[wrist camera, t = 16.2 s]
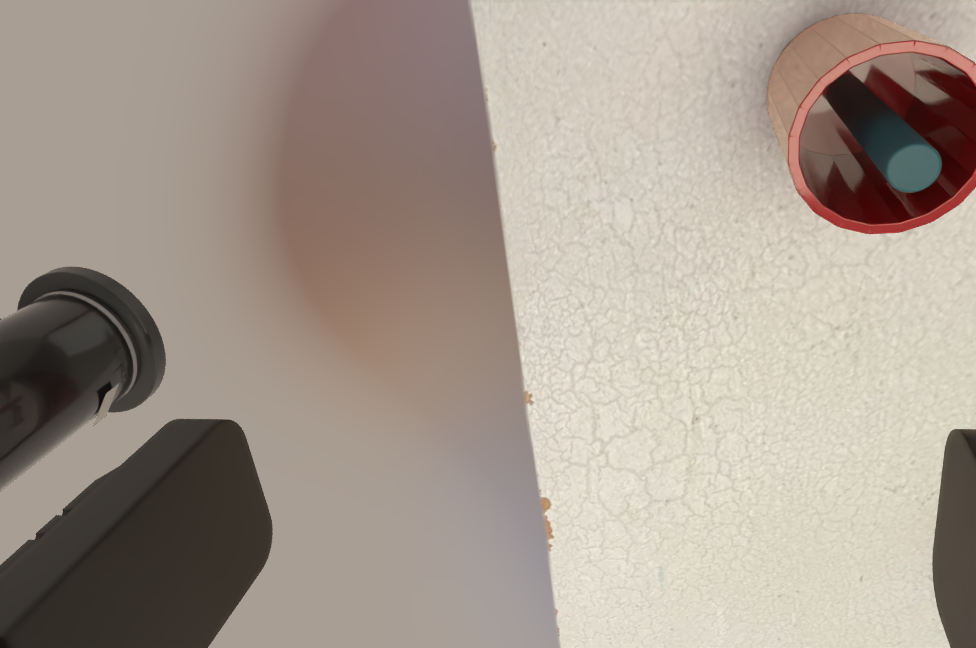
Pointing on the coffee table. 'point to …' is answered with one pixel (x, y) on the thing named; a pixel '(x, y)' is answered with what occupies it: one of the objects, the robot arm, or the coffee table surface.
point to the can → (898, 83)
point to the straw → (884, 136)
